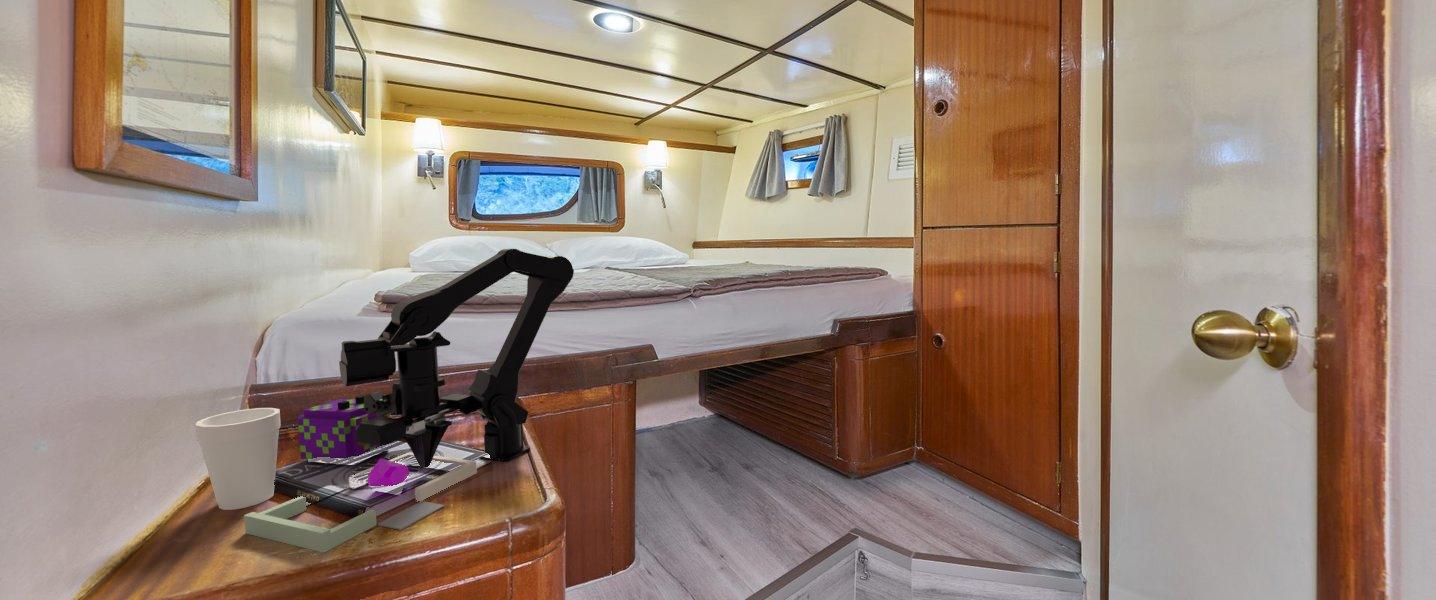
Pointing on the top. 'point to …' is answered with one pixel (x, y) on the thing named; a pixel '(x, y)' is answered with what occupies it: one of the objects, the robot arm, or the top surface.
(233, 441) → the foam cup
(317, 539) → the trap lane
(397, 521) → the mat
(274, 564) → the top surface
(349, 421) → the toy
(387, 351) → the robot arm
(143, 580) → the top surface
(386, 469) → the crystal
